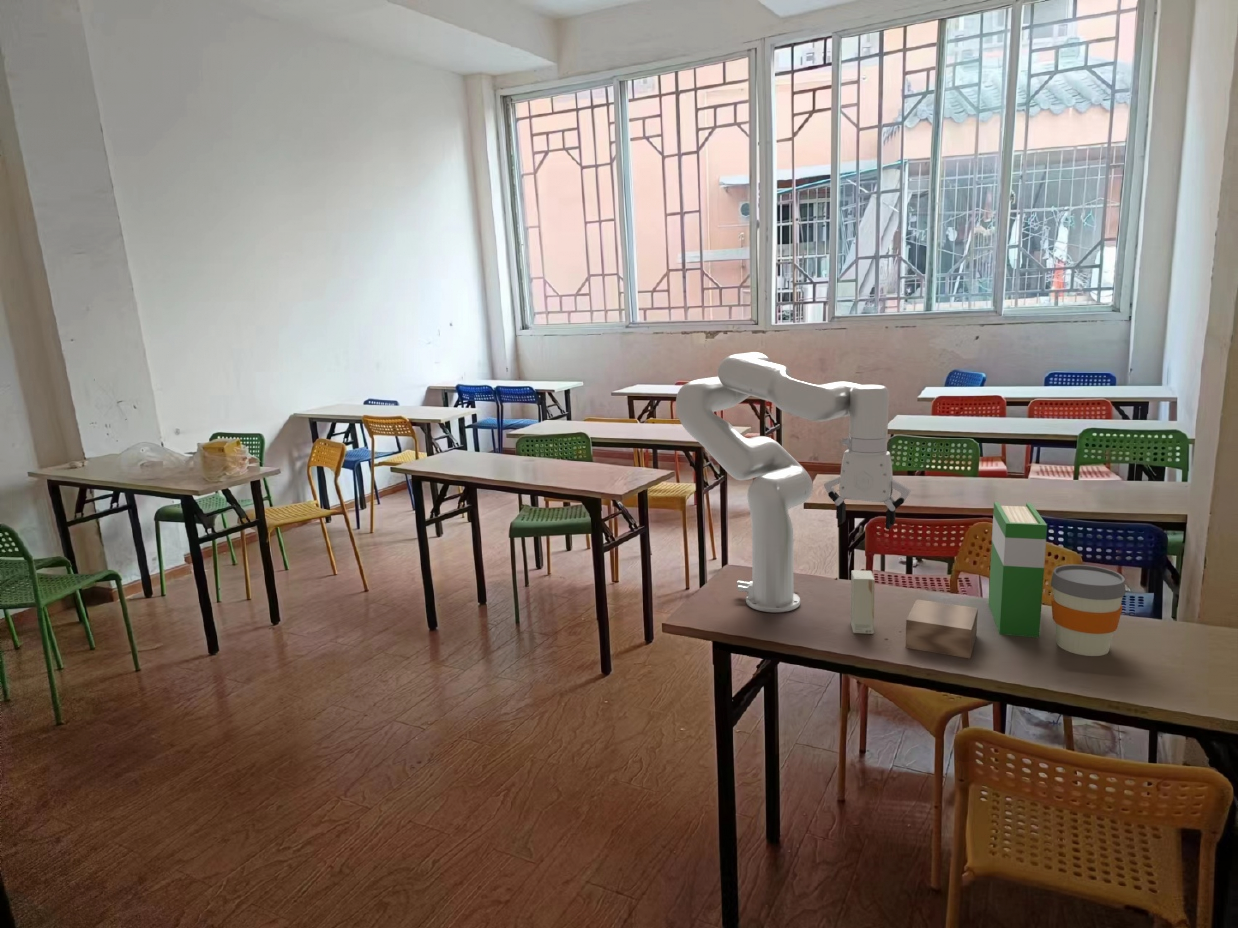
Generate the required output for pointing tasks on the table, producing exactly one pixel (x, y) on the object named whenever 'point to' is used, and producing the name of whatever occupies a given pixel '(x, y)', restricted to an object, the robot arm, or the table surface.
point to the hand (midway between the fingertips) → (864, 525)
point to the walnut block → (941, 628)
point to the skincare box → (862, 601)
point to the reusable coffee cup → (1086, 607)
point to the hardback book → (1017, 569)
